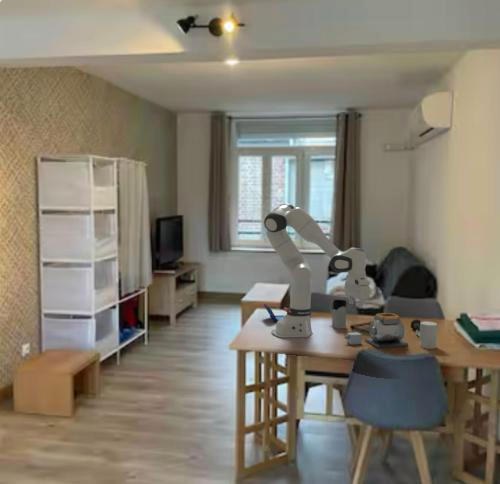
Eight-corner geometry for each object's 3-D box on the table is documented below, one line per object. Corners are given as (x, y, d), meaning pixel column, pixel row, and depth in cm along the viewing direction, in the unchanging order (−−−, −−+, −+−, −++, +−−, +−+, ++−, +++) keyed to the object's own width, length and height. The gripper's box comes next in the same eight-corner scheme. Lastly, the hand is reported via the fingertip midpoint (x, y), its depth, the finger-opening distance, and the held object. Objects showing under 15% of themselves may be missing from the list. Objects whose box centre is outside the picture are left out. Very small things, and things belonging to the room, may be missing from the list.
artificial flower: (424, 332, 314) (430, 317, 312) (426, 347, 293) (432, 331, 290) (409, 327, 316) (414, 312, 313) (409, 342, 295) (416, 325, 292)
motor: (378, 348, 276) (380, 319, 274) (364, 340, 289) (366, 312, 287) (408, 346, 281) (409, 317, 279) (393, 338, 294) (394, 311, 293)
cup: (438, 348, 277) (439, 325, 276) (422, 348, 277) (424, 325, 275) (432, 344, 285) (433, 321, 284) (416, 344, 285) (417, 321, 283)
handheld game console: (291, 323, 325) (291, 308, 324) (269, 324, 322) (270, 308, 321) (284, 317, 340) (284, 302, 339) (263, 318, 337) (263, 303, 336)
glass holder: (336, 328, 313) (337, 303, 312) (323, 323, 326) (324, 298, 324) (349, 327, 317) (350, 302, 315) (335, 322, 329) (336, 297, 328)
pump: (347, 345, 281) (347, 335, 280) (343, 342, 285) (343, 333, 285) (361, 343, 283) (361, 334, 283) (357, 341, 288) (357, 332, 287)
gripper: (341, 276, 291) (340, 302, 292) (361, 282, 271) (360, 310, 273) (352, 275, 293) (351, 301, 294) (372, 282, 273) (371, 309, 275)
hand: (355, 305), depth 283 cm, fingers open, 8 cm apart
